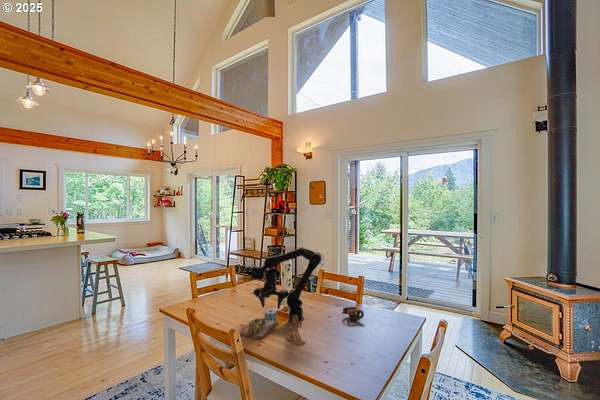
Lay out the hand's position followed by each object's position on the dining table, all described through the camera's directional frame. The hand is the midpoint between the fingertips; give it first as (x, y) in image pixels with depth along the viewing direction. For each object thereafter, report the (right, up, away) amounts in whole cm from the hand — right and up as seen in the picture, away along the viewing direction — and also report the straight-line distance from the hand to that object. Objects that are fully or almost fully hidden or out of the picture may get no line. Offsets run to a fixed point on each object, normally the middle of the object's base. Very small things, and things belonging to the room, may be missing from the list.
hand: (270, 308), depth 156 cm
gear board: (-4, -6, -13) cm, 15 cm away
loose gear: (0, -6, 0) cm, 6 cm away
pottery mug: (+44, -6, -3) cm, 45 cm away
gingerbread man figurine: (+14, -6, -25) cm, 30 cm away
